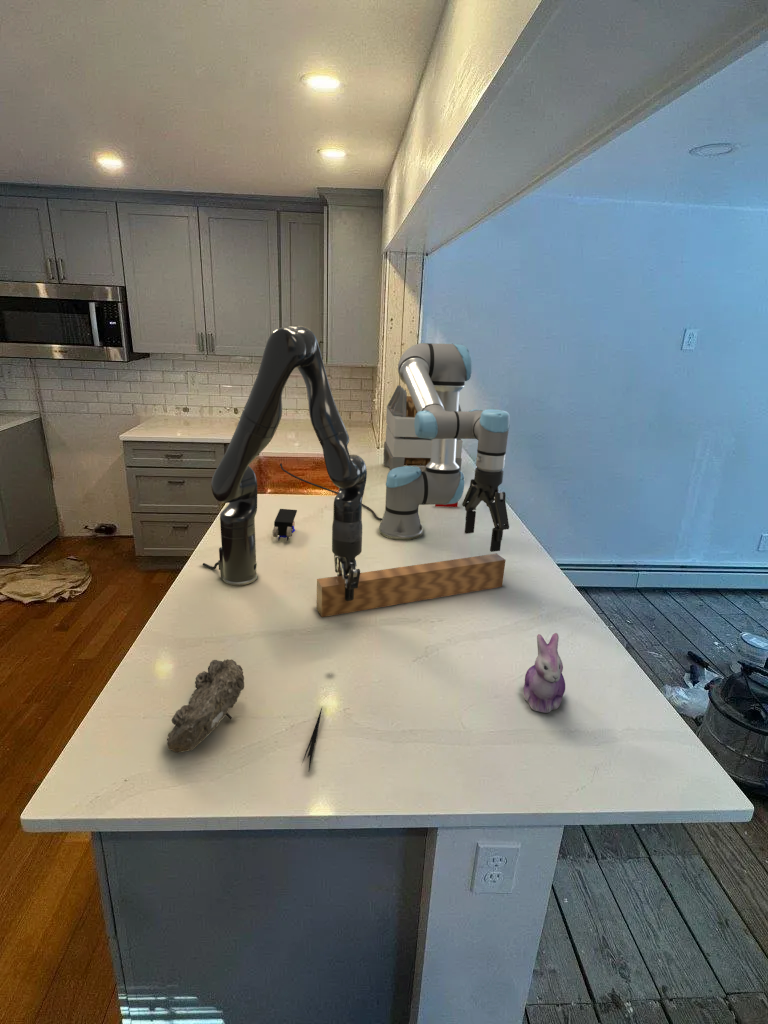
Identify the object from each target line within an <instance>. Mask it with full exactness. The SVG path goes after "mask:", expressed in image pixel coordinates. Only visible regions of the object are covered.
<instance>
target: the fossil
mask: <svg viewBox="0 0 768 1024" xmlns="http://www.w3.org/2000/svg"><path fill="white" fill-rule="evenodd" d="M243 670H244V669H243V667H242V665H240V664H237V662H236V661H235V660H234V659H232V658H231V659H227V658H226V659H224V660H223V661H222V660H217V659H212V660H211V661H210V663H209V665H208V666H207V671H201V672H199V673H198V674H197V675H196V676H195V680H194V684H195V685H194V687H195V689H194V690H193V693H192V694H191V697H190V698H189V700H188V704H184V705H182V706H181V707H180V709H177V710H176V711H175V713H174V715H173V716H172V718H171V723H172V724H173V727H172V730H171V731H170V732H168V734H167V738H166V741H167V742H166V745H167V749H168V750H169V751H173V752H174V753H176V754H178V753H182V752H188V751H189V752H192V751H193V750H195V748H196V747H197V746H199V744H200V743H201V742H203V741H204V740H205V739H206V738H207V737H208V736H209V735H210V734H211V733H212V732H214V730H215V729H217V727H218V726H219V724H220V722H221V721H222V720H223V719H224V718H225V716H226V717H227V719H229V720H233V717H232V715H230V714H229V710H230V709H231V708H234V706H235V704H236V703H237V702H238V699H239V697H240V695H241V693H242V691H243V690H245V689H244V688H245V675H244V671H243Z"/></svg>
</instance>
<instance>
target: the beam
mask: <svg viewBox="0 0 768 1024" xmlns="http://www.w3.org/2000/svg"><path fill="white" fill-rule="evenodd" d="M505 569H506V559H505V558H504V557H502V556H501V555H500V554H498V553H491V554H484V555H483V554H482V555H476V556H469V557H463V558H462V557H461V558H456V559H455V558H454V559H447V560H441V561H433V562H427V563H419V564H414V565H413V564H412V565H405V566H400V567H399V566H398V567H391V568H384V569H377V570H371V571H364V572H363V571H362V572H360V577H359V584H358V588H355V589H354V599H353V600H351V601H346V600H345V580H344V579H343V578H342V576H337V575H336V576H329V577H322V578H321V577H320V578H316V610H317V612H318V613H319V615H320V617H321V618H327V617H331V616H338V615H342V614H343V615H344V614H349V613H354V612H360V611H366V610H373V609H379V608H385V607H390V606H396V605H402V604H408V603H413V602H419V601H421V602H422V601H426V600H432V599H438V598H442V597H449V596H456V595H461V594H468V593H473V592H479V591H480V592H481V591H486V590H490V589H497V588H502V587H503V585H504V576H505ZM346 576H349V574H348V575H346Z"/></svg>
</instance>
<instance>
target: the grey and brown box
mask: <svg viewBox="0 0 768 1024" xmlns="http://www.w3.org/2000/svg"><path fill="white" fill-rule="evenodd" d="M407 394H408V393H407V390H406V389H404V388H403V387H402V385H399V384H398V385H397V386H396V388H395V390H394V392H393V394H392V395H391V398H390V400H389V402H388V404H387V405H386V413H385V414H386V415H385V423H386V428H385V438H384V442H383V466H384V467H388V468H389V471H390V470H392V469H394V468H397V467H402V466H416V467H426V465H427V464H428V463H429V462H430V461H431V441H432V439H426V438H419V437H417V436H416V434H415V428H414V421H415V416H416V414H417V410H416V408H415V405H414V403H413V400H412V398H411V395H407ZM458 411H462V408H461V405H460V404H459V409H458ZM463 442H464V441H463V439H457V442H456V458H455V462H456V464H457V465H458V466H459V471H461V472H462V461H463V460H462V453H463Z"/></svg>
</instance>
